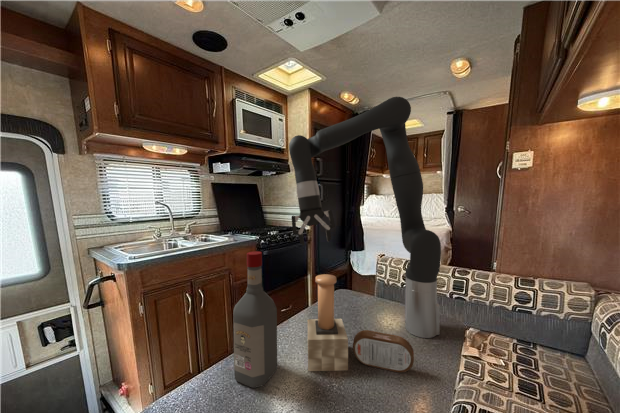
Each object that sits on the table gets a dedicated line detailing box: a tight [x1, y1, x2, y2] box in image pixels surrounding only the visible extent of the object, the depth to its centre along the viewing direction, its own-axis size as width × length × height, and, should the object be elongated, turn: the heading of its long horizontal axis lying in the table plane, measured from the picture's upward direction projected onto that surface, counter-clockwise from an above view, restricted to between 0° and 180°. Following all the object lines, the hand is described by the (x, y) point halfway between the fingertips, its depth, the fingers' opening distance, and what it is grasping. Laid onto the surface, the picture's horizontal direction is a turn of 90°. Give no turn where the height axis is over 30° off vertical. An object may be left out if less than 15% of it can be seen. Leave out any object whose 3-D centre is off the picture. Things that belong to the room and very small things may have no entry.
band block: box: [307, 318, 349, 372], centre depth 64 cm, size 10×10×9 cm
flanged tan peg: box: [315, 273, 337, 330], centre depth 63 cm, size 6×6×21 cm
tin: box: [352, 329, 415, 374], centre depth 60 cm, size 15×3×8 cm, turn 71°
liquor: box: [232, 250, 278, 389], centre depth 58 cm, size 9×9×30 cm
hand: (316, 243), depth 79 cm, fingers open, 8 cm apart
